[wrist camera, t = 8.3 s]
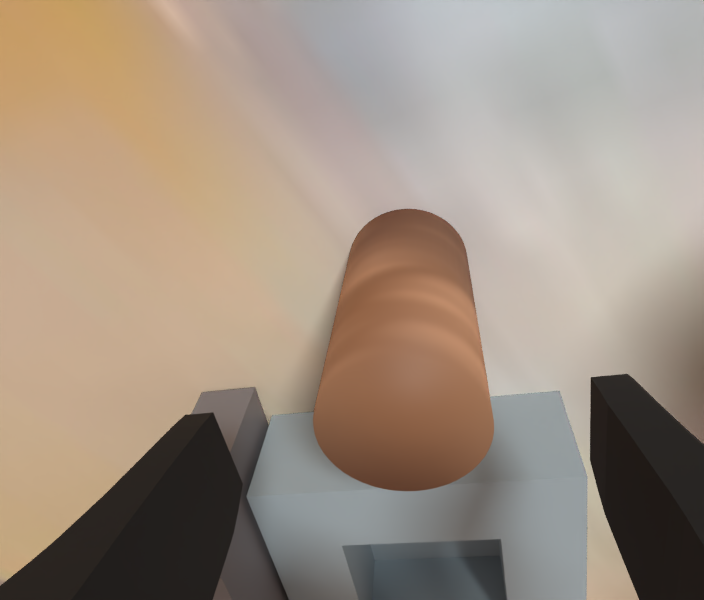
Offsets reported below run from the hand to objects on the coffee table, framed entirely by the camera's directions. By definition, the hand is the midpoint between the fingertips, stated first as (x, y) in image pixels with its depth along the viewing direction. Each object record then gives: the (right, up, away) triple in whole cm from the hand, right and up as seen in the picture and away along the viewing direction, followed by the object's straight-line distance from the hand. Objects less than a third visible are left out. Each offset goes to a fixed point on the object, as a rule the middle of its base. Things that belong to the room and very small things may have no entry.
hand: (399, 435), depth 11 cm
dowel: (+1, +4, +6) cm, 7 cm away
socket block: (+2, -5, +12) cm, 13 cm away
